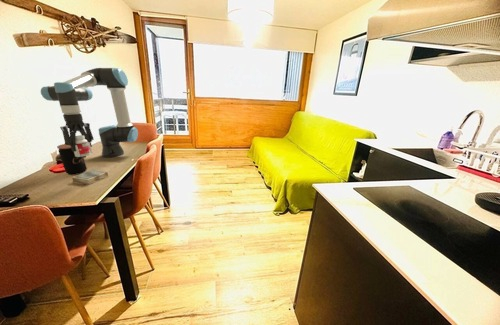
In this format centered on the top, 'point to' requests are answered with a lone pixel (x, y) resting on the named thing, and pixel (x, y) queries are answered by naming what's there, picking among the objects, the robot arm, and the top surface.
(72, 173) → the coffee jar
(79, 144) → the pill bottle
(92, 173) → the banknote stack
